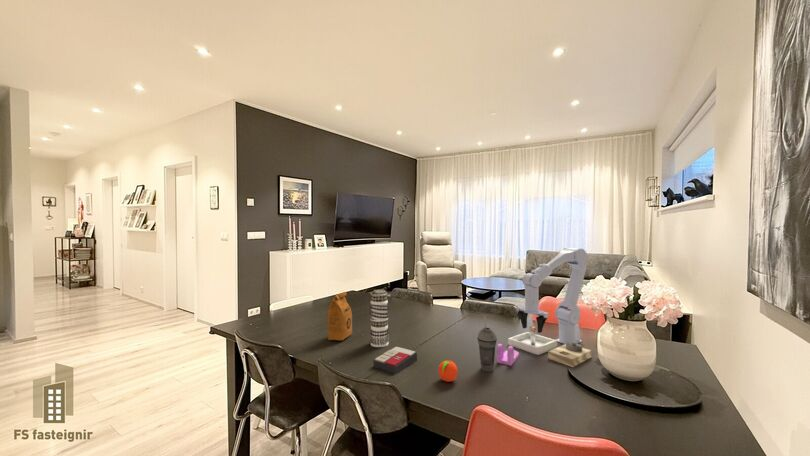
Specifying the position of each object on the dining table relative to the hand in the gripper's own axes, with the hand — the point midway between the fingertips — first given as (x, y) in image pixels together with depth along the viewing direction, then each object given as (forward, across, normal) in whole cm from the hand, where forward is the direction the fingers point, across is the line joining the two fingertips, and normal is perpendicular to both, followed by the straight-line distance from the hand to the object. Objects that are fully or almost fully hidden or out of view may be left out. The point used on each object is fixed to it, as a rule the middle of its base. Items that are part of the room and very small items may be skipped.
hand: (532, 330), depth 147 cm
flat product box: (+8, -22, -60) cm, 64 cm away
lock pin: (+7, 0, 0) cm, 7 cm away
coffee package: (+7, -64, -64) cm, 91 cm away
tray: (+7, 0, 0) cm, 7 cm away
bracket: (+8, +2, -20) cm, 21 cm away
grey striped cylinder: (+7, -45, -54) cm, 70 cm away
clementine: (+7, +1, -54) cm, 54 cm away
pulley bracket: (+7, +17, 0) cm, 18 cm away
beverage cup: (+7, +3, -34) cm, 35 cm away
